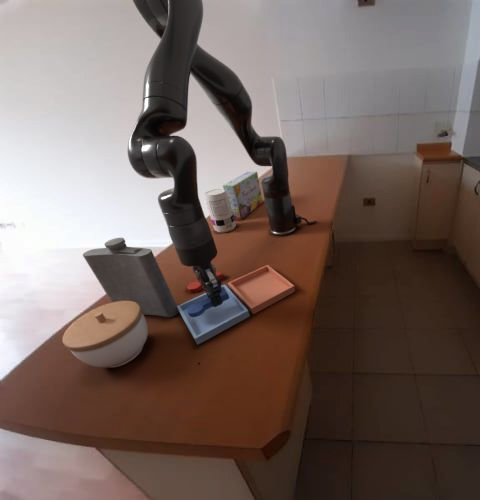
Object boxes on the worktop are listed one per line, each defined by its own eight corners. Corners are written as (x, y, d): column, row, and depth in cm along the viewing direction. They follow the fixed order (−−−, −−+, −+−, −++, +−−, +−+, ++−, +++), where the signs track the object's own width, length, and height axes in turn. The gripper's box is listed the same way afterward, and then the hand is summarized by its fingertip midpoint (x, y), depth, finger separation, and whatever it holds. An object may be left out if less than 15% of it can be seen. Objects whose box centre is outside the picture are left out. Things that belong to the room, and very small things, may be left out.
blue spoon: (225, 293, 69) (223, 288, 68) (231, 300, 67) (229, 295, 66) (186, 311, 64) (184, 306, 63) (191, 319, 62) (188, 314, 61)
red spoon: (219, 274, 82) (218, 270, 81) (224, 279, 79) (222, 275, 79) (187, 288, 77) (185, 284, 76) (190, 294, 74) (189, 289, 74)
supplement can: (210, 232, 108) (198, 195, 100) (224, 223, 114) (214, 188, 107) (226, 234, 105) (215, 196, 98) (240, 225, 112) (231, 189, 104)
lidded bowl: (103, 391, 51) (71, 350, 45) (76, 362, 57) (45, 324, 52) (169, 343, 60) (148, 304, 54) (139, 323, 66) (118, 286, 61)
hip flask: (115, 315, 69) (72, 245, 59) (128, 304, 73) (89, 237, 63) (174, 317, 67) (139, 245, 57) (183, 306, 70) (152, 236, 60)
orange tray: (268, 270, 82) (267, 264, 81) (295, 291, 73) (294, 285, 72) (229, 288, 76) (227, 282, 75) (253, 314, 66) (251, 308, 65)
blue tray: (226, 289, 75) (224, 284, 74) (249, 316, 66) (248, 310, 65) (179, 311, 69) (176, 306, 68) (197, 345, 59) (194, 338, 58)
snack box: (243, 220, 116) (234, 185, 108) (230, 220, 117) (221, 185, 109) (263, 202, 134) (257, 170, 126) (253, 201, 135) (246, 170, 127)
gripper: (223, 243, 55) (243, 309, 64) (200, 223, 64) (220, 283, 73) (183, 257, 51) (210, 325, 60) (165, 234, 60) (191, 296, 69)
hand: (216, 302), depth 66 cm, fingers closed on blue spoon, 2 cm apart
